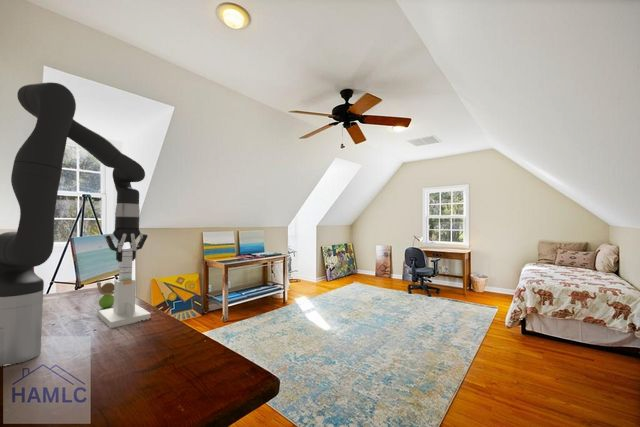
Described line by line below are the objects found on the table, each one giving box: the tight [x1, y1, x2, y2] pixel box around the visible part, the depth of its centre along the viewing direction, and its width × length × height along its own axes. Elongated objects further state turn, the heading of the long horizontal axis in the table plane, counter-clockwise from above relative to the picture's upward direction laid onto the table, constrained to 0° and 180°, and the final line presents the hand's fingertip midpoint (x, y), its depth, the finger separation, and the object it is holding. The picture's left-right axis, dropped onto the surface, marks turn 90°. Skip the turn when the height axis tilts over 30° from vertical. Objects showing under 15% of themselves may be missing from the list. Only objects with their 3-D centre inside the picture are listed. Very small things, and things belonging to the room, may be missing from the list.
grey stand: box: [97, 277, 152, 329], centre depth 102 cm, size 18×12×14 cm, turn 50°
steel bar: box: [118, 247, 133, 281], centre depth 102 cm, size 3×3×17 cm
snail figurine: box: [96, 279, 114, 309], centre depth 112 cm, size 5×6×12 cm
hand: (126, 261), depth 102 cm, fingers closed on steel bar, 3 cm apart
